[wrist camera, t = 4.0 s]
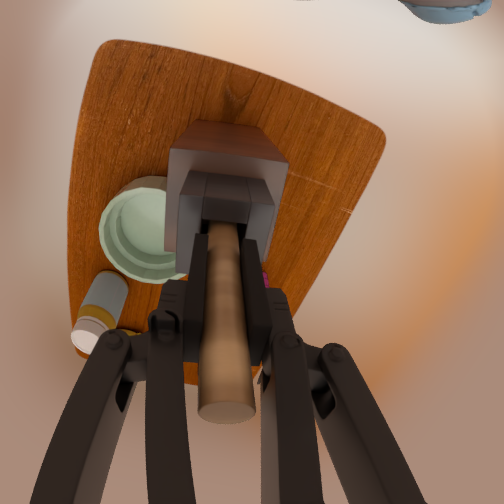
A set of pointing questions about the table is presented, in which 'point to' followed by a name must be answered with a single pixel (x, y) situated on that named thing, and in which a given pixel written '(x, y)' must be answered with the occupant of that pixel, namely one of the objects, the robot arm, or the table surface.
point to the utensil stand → (222, 186)
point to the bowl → (138, 231)
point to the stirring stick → (224, 334)
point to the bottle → (99, 309)
